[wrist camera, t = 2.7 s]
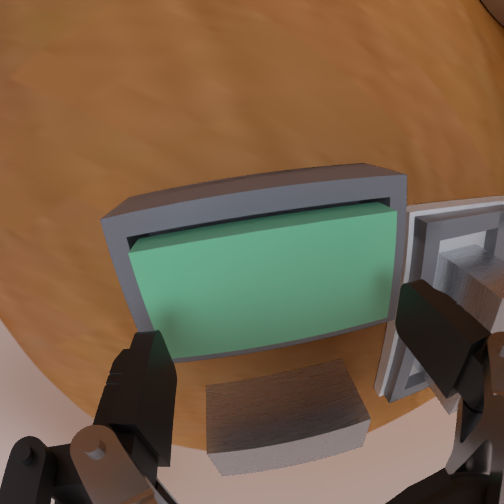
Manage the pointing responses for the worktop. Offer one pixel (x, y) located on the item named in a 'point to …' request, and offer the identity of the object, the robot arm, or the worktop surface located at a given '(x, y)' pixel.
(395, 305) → the box
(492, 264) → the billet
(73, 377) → the worktop surface
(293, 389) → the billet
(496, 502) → the robot arm
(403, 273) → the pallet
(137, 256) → the button
